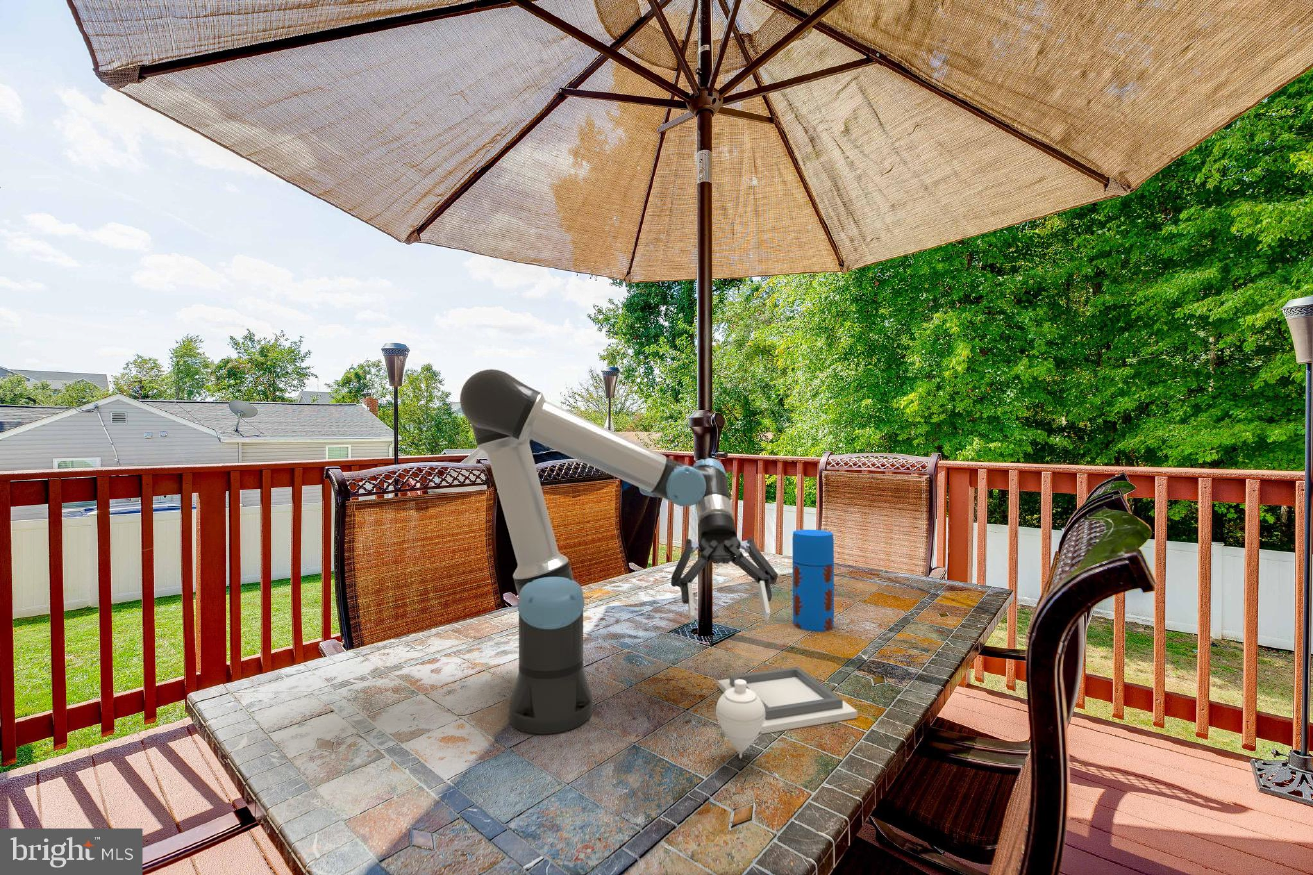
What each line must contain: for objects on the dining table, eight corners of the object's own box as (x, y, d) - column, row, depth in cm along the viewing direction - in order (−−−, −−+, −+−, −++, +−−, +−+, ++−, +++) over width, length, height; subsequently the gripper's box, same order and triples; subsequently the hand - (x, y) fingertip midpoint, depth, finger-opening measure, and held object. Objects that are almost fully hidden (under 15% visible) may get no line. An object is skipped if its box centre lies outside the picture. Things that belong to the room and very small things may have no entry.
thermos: (784, 621, 152) (784, 531, 152) (815, 616, 156) (814, 528, 157) (811, 634, 142) (810, 537, 142) (842, 628, 146) (842, 534, 147)
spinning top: (706, 757, 86) (705, 680, 86) (735, 739, 92) (735, 667, 92) (745, 779, 81) (745, 696, 81) (775, 758, 86) (775, 681, 86)
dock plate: (761, 733, 93) (761, 717, 93) (717, 686, 112) (717, 672, 112) (857, 717, 99) (857, 702, 99) (800, 674, 117) (800, 662, 117)
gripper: (772, 531, 117) (794, 625, 102) (655, 534, 116) (660, 629, 101) (778, 509, 112) (802, 605, 97) (656, 512, 111) (661, 609, 96)
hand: (729, 618), depth 99 cm, fingers open, 13 cm apart
